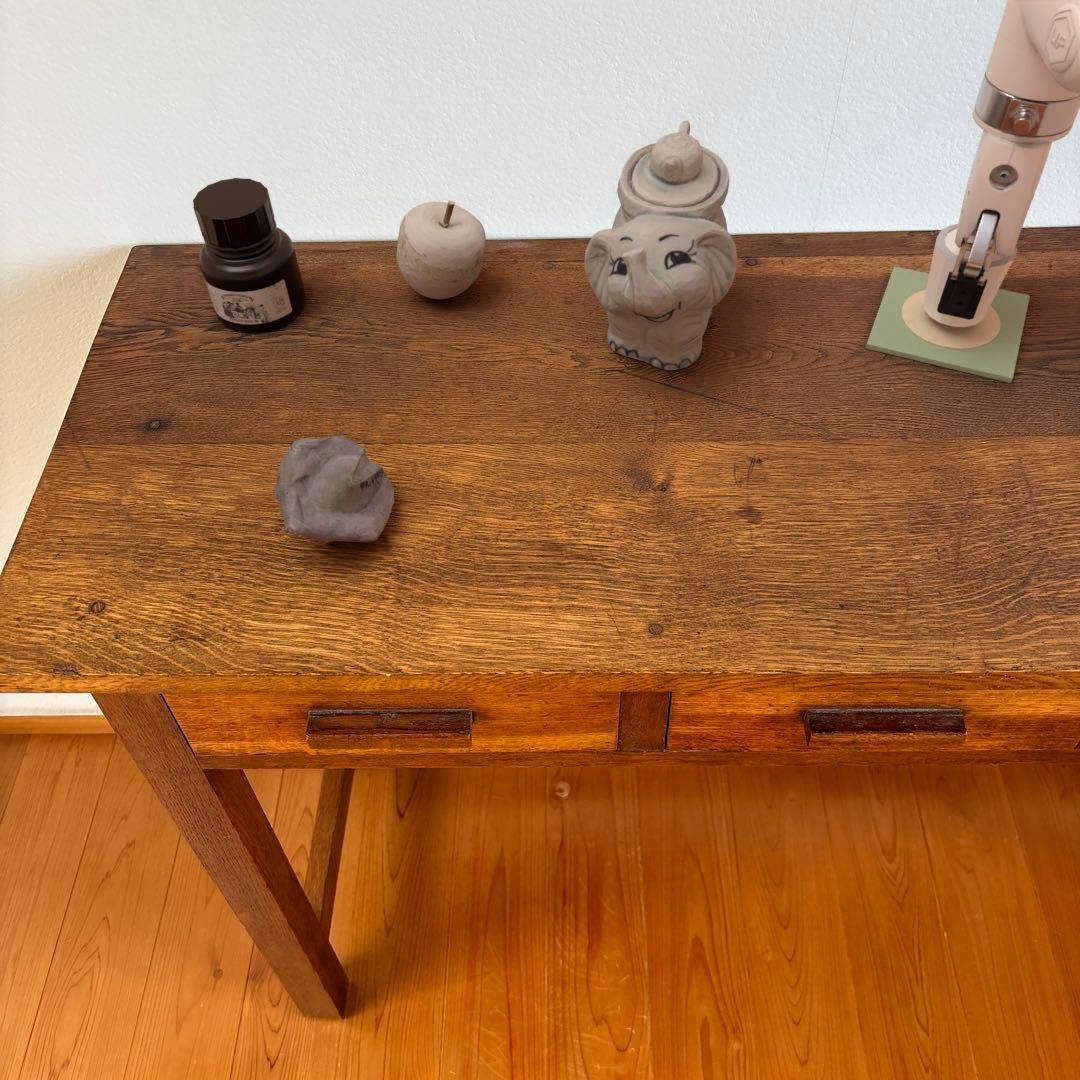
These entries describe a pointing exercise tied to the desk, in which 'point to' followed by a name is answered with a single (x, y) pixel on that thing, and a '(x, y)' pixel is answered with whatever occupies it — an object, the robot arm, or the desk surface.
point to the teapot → (664, 252)
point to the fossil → (332, 491)
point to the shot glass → (945, 263)
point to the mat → (948, 330)
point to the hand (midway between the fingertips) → (961, 289)
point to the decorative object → (440, 249)
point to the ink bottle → (247, 257)
